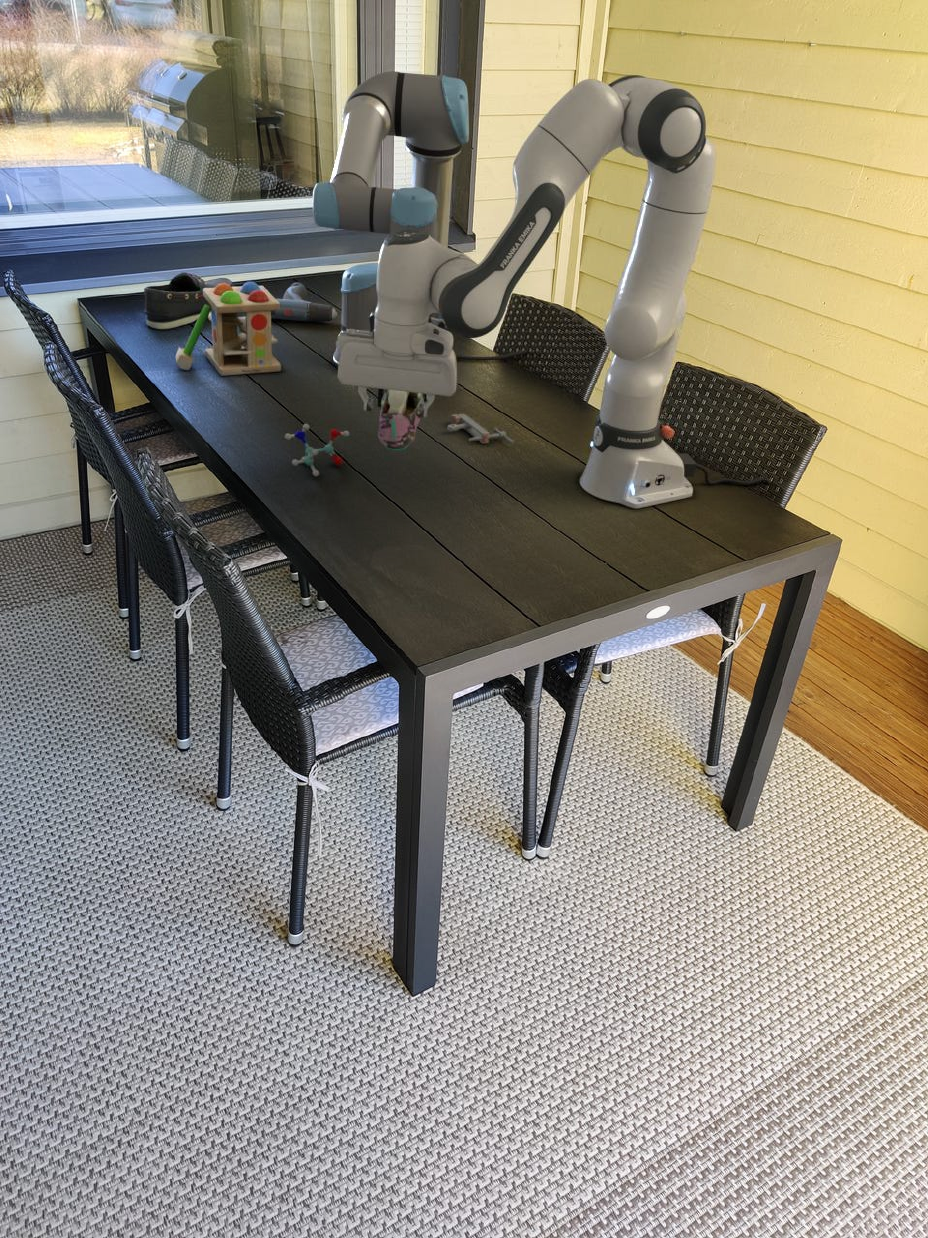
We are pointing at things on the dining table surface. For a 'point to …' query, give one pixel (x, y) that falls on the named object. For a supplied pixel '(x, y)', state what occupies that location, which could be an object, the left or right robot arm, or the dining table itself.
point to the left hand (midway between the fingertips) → (403, 406)
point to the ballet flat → (399, 418)
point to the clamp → (468, 424)
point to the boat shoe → (178, 300)
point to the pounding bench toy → (229, 347)
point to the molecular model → (313, 452)
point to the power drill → (301, 307)
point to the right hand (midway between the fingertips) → (395, 412)
